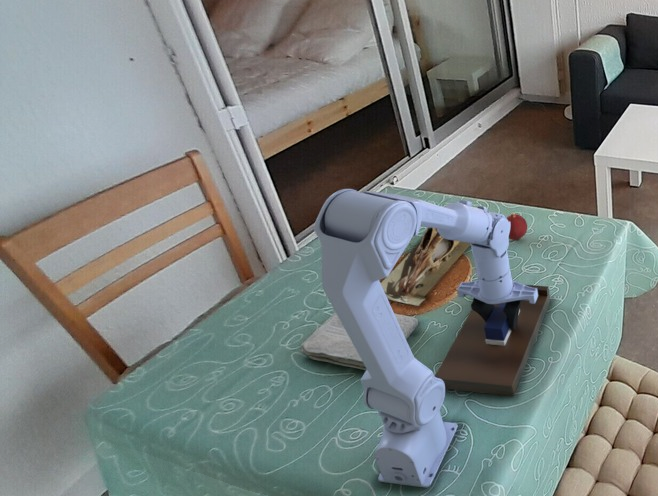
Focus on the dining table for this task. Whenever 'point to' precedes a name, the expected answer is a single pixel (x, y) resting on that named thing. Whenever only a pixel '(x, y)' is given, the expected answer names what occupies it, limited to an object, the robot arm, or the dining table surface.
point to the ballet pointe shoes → (422, 268)
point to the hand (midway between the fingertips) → (503, 325)
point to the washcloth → (343, 342)
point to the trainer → (497, 326)
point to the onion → (517, 226)
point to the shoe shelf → (493, 352)
